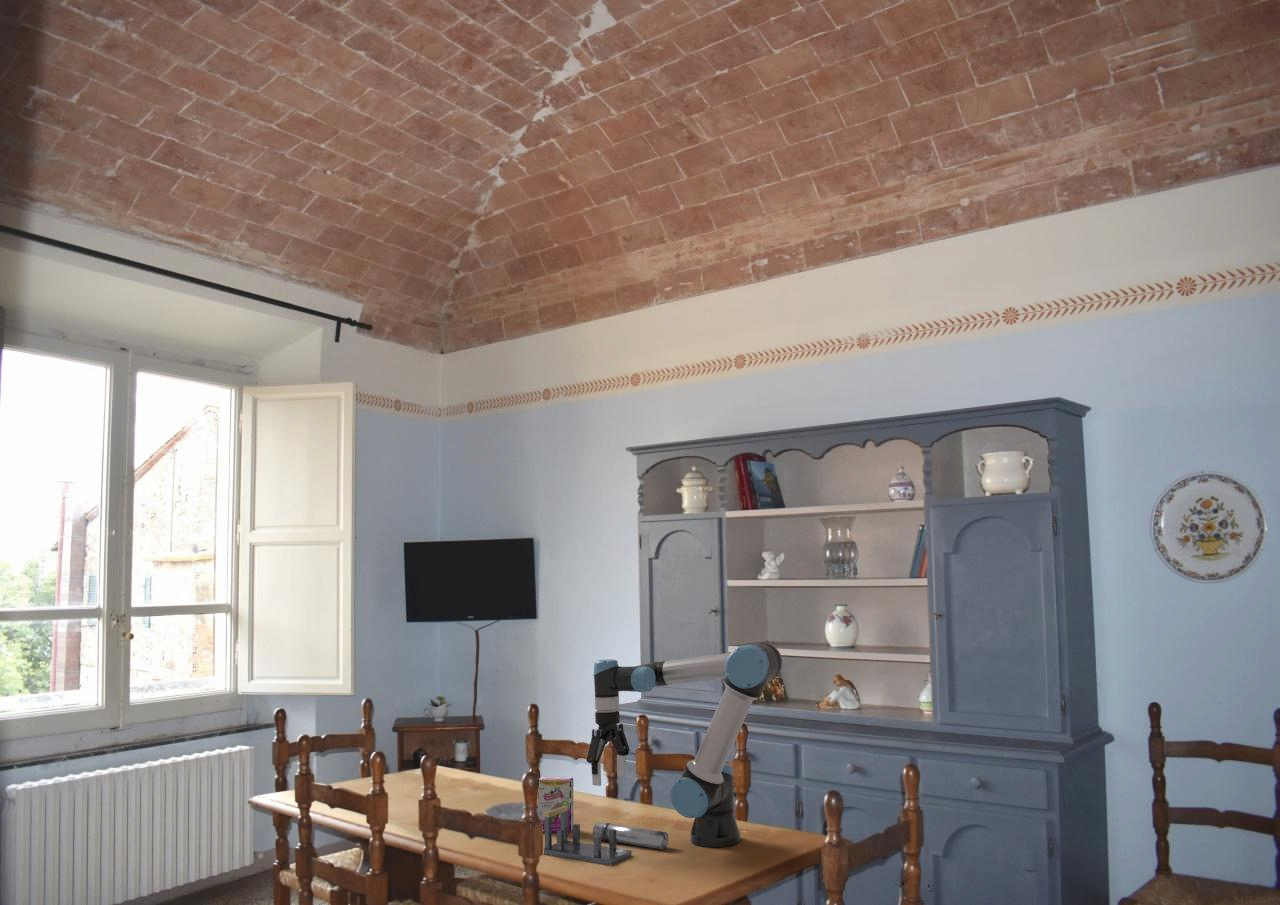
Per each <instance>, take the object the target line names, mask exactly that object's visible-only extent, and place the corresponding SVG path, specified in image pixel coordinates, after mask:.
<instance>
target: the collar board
mask: <svg viewBox="0 0 1280 905" xmlns="http://www.w3.org/2000/svg"><path fill="white" fill-rule="evenodd" d="M559 813H561V830H558V831H557V832H556V843H554V844H553V837H552V836H553V832H552V816H554V815H557V814H559ZM544 818H545V832H544V848H543V849H544V854H543V855H545V856H550V855H552V857H556V856H557V858H562V857H563V859H568V858H569V860H576V861H580V862H581V861H582V862H585V863H586V862H587V863H592V864H598V865H603V866H604V865H605V866H610V865H611V866H613V865H615V864H617V862H618V863H619V862H621V861H624V860H626V859H627V858H630V857H632V856H633V855H632V854H633V852H632V850H630V849H623V848H618V847H617V842H616V829H610V830H609V841H608V844H609V846H605V845H602V840H601V836H599V835H596V836H594V837H593V843H591V844H590V843H585V842H581V824H579V823H574V825H573V830H572V840H569V837H568V836H569V835H568V834H569V833H568V807H567V806H562V807H559V808H556V809H553V810H550V811H548V812H545V813H544Z"/></svg>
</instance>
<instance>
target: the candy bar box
mask: <svg viewBox="0 0 1280 905" xmlns="http://www.w3.org/2000/svg"><path fill="white" fill-rule="evenodd" d="M538 779H539V789H538V815H539V819H540V821H541V824H542V826H543V830H544V832H543V833H545V818H544V813H545V812H548V811H550V810H553V809H556V808H559V807H562V806H567V807H568V834H570V833H573V825H574V824H575V823H574V777H572V776H571V777H570V776H569V777H568V776H565V777H564V776H562V777H561V776H559V777H558V776H540V777H539V778H538ZM558 830H561V813H559V814H557V815H554V816H552V833H557V831H558Z"/></svg>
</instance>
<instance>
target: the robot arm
mask: <svg viewBox="0 0 1280 905" xmlns="http://www.w3.org/2000/svg"><path fill="white" fill-rule="evenodd" d="M593 665H594V666H593V683H594V706H595V707H594V710H596V711H595V712H594V717H595V718H594V719H595V720H594V722H595V724H596V725H598V728H592V730H591V738H590V743H589V747H588V748H589V749H588V752H587V756H586V762H587V763H588V764H591V775H592V776H591V778H592V785H591V786H598V787H600V786H602V766H601V765H602V763H600V760H601V757H602V755H603V752H604V750H605V747H606V745H608V743H610V742H611V744H612V745H613V747H614V749H615V750H616V753H617V755H616V772H617V773H616V774H617V777H618V778H626V777H627V774H626V771H627V770H626V769H627V768H626V764H627V763H626V761H627V760H626V759H627V758H626V756H629V752H630V750H631V749H630V746H629V743H628V740H627V737H626V734H625V731H624V723H620V720H621V719H620V718H621V717H620V711H619V709H620V696H619V695H620V693H619V692H636V693H637V692H638V693H645V692H651V691H652V690H653V688H657V687H665V686H666V687H667V686H672V685H681V684H690V683H691V684H692V683H699V682H707V681H708V682H709V681H718V680H723V684H724V686H725V689H724V691H723V693H722V696H721V698H720V700H719V703H718V705H717V707H716V710H715V711H714V714H713V716H712V719H711V721H710V723H709V725H708V727H707V730H706V733H705V735H704V737H703V739H702V741H701V744H700V746H699V748H698V751H697V753H696V755H695V758H694V759H692V760H689V761H687V763H686V765H685V767H684V770H683V772H682V774H681V775H680V776H681V777H680V778H678V779H676V781H674V783H673V784H672V786H671V788H670V793H669V794H670V795H669V798H670V802H671V804H672V806H673V808H674V809H675V811H676V812H677V813H678V814H679V815H681V816H682V817H684V818H688V819H694V820H693V823H692V825H691V826H692V827H691V830H690V842H691V843H692V844H694V845H696V846H700V847H705V848H725V847H732V846H735V845H737V844H739V843H740V842H741V831H740V830H739V826H738V823H737V819H736V817H735V812H734V811H735V810H734V809H735V807H734V806H735V805H734V803H735V802H734V773H733V767H732V765H730V764H727V760H728V758H729V756H730V753H731V752H732V749H733V747H734V744H735V743H736V740H737V737H738V736H739V733H740V731H741V728H742V726H743V724H744V722H745V720H746V717H747V715H748V713H749V710H750V708H751V706H752V703H753V702H754V701H755V700H758V699H760V698H761V696H762V694H763V691H764V689H765V687H766V685H767V683H768V682H771V681H773V680H775V678H776V677H778V675H780V673H781V670H782V668H783V658H782V655H781V652H780V651H779V650H778V648H777V647H775V646H774V645H773V644H771V643H768V642H764V641H763V642H756V643H752V644H751V643H750V644H749V643H748V644H743V645H741V646H738V647H737V648H735V649H734V650H733V651H732V652H726V653H719V654H711V655H702V656H695V657H689V658H680V659H672V660H666V661H664V660H663V661H653V662H650V663H646V664H645V663H644V664H641V665H635V666H621V665H619V663H618V660H617V659H613V658H612V659H598V660H596V661H595V662H594V664H593Z"/></svg>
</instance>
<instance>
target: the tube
mask: <svg viewBox="0 0 1280 905" xmlns="http://www.w3.org/2000/svg"><path fill="white" fill-rule="evenodd" d="M610 829H616V844H618V843H619V844H626V845H632V846H637V847H644V848H650V849H655V850H662V851H663V850H666V849H667V847H668V845H669V839H670V838H669V834H668V832H667V831H663V830H662V831H661V830H655V829H649V828H643V827H634V826H629V825H621V824H613V823H610V822H609V823H608V822H601V821H597V822H595V824H594V825H593V828H592V836H593V838H594V836H596V835H599V836H601V841H604V842H609V830H610Z"/></svg>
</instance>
